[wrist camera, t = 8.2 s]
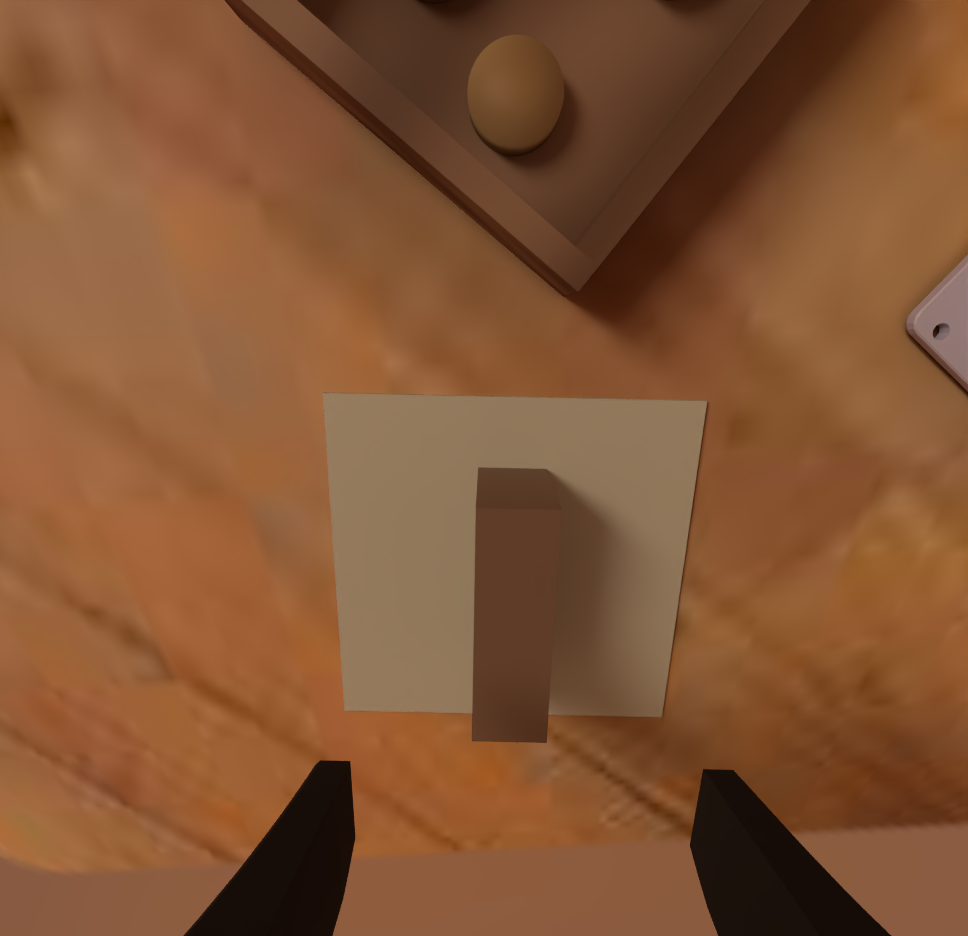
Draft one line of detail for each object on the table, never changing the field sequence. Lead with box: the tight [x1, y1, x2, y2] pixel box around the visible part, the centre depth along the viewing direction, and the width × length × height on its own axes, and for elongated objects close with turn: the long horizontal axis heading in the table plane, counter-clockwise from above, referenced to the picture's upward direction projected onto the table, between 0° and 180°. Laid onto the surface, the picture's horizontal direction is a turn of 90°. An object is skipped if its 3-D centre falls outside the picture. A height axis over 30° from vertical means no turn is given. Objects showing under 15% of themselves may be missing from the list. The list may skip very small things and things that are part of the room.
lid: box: [323, 392, 707, 743], centre depth 18 cm, size 13×13×5 cm
